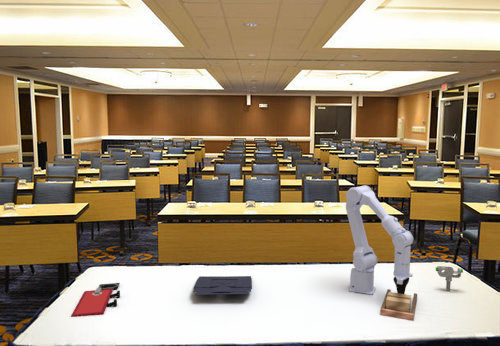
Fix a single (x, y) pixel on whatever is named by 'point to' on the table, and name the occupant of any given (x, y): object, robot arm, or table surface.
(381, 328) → the table surface
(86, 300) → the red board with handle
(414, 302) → the bay
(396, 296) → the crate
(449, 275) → the mechanical component
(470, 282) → the table surface
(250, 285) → the dark grey flat slab
